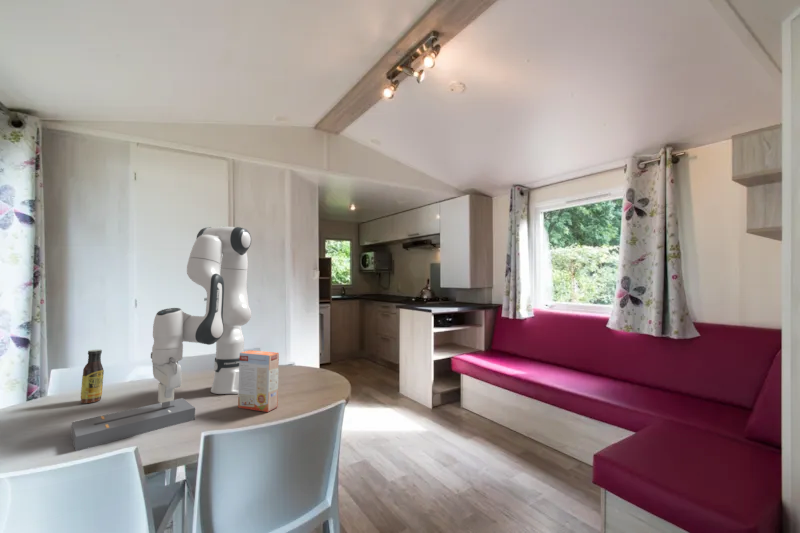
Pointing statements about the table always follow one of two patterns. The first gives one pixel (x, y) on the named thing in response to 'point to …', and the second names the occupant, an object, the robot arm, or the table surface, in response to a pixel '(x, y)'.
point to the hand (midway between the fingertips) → (166, 395)
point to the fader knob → (162, 398)
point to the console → (129, 423)
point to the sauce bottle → (92, 378)
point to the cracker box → (258, 380)
